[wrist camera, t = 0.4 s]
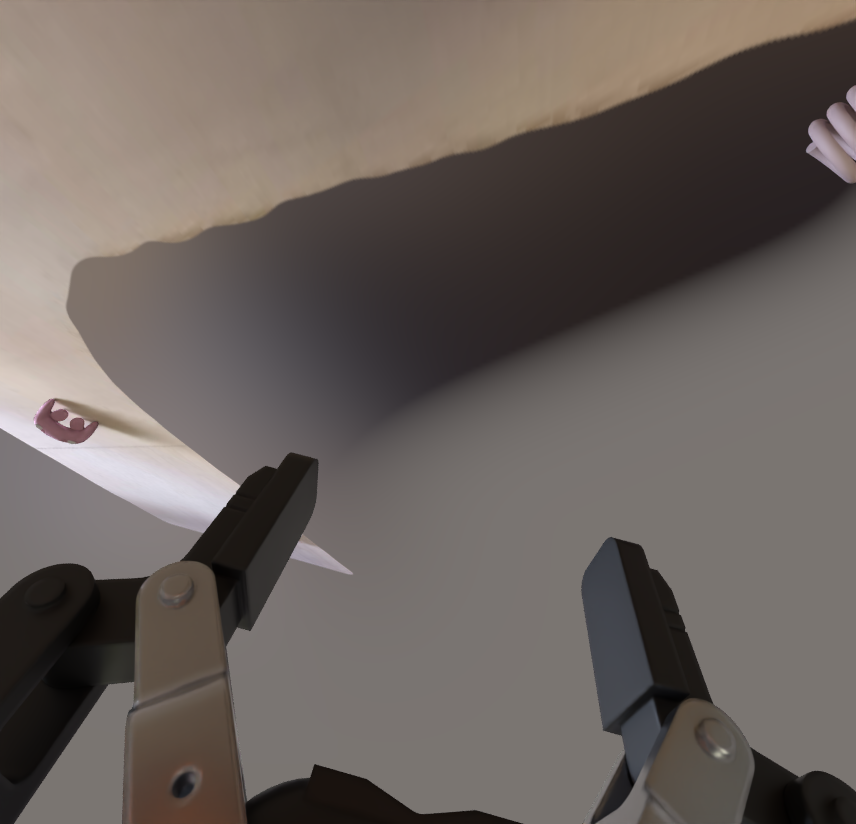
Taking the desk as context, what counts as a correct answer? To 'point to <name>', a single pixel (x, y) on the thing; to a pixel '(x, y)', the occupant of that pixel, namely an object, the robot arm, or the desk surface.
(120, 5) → the desk surface
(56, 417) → the video game controller
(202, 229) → the desk surface
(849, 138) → the coil
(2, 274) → the desk surface
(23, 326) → the desk surface
